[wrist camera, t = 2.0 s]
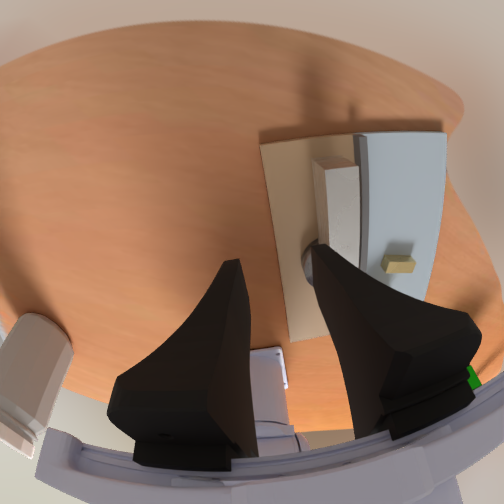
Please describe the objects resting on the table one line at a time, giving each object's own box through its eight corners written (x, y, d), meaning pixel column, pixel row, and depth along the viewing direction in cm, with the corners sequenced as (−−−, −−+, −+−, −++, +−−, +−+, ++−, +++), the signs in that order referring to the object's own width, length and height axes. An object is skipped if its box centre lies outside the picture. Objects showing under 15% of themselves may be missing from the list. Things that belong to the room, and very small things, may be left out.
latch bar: (348, 282, 22) (363, 311, 18) (316, 288, 22) (326, 319, 19) (346, 154, 16) (369, 168, 13) (305, 159, 16) (320, 173, 13)
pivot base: (350, 274, 23) (355, 284, 22) (302, 283, 24) (306, 294, 22) (350, 231, 21) (357, 240, 20) (298, 240, 21) (302, 249, 20)
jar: (51, 306, 25) (-11, 429, 10) (89, 358, 31) (53, 471, 15) (12, 308, 26) (-42, 406, 11) (46, 355, 31) (10, 448, 16)
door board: (418, 306, 28) (425, 317, 26) (289, 337, 28) (291, 351, 27) (441, 131, 17) (455, 136, 16) (259, 144, 18) (261, 148, 16)
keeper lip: (380, 265, 23) (385, 273, 22) (384, 254, 23) (389, 261, 21) (406, 266, 23) (412, 273, 22) (410, 255, 23) (416, 262, 22)
